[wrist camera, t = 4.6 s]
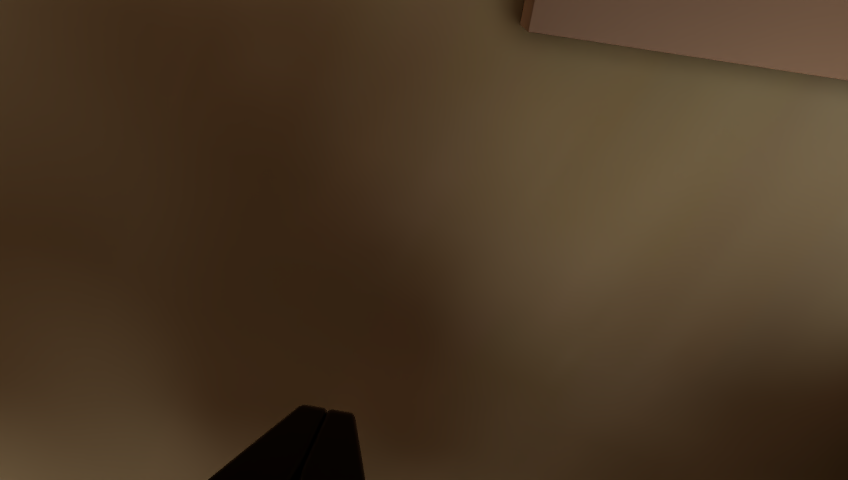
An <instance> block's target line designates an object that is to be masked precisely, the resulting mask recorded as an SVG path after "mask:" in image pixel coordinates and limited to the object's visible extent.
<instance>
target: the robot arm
mask: <svg viewBox="0 0 848 480" xmlns="http://www.w3.org/2000/svg"><path fill="white" fill-rule="evenodd" d="M208 480H365V475H364V469H363V463H362V457H361V451H360V445H359V438H358V432H357V426H356V420H355V416H354V414H353V413H350V412H344V411H338V410H329V411H328V412H327V410H326V409H325V408H321V407H315V406H310V405H301V406H299V407H298V408H296V409H295V410H294V411H293V412H291V413H290V414H289V415H288V416H286V417H285V418H284V419H283V420H281V421H280V422H279V423H278V424H276V425H275V426H274V427H273V428H271V429H270V430H269V431H268V432H266V433H265V434H264V435H263V436H262V437H260V438H259V439H258V440H257V441H255V442H254V443H253V444H252V445H250V446H249V447H248V448H247V449H245V450H244V451H243V452H242V453H240V454H239V455H238V456H237V457H235V458H234V459H233V460H232V461H230V462H229V463H228V464H227V465H226V466H224V467H223V468H222V469H221V470H219V471H218V472H217V473H216V474H214V475H213V476H212V477H211V478H209V479H208Z"/></svg>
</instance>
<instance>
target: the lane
mask: <svg viewBox="0 0 848 480" xmlns="http://www.w3.org/2000/svg"><path fill="white" fill-rule="evenodd" d="M520 25H521V26H522V27H523V28H525V29H526V30H527V31H528V32H534V33H541V34H548V35H554V36H561V37H567V38H574V39H580V40H587V41H593V42H600V43H606V44H613V45H619V46H626V47H633V48H639V49H646V50H652V51H659V52H665V53H672V54H678V55H685V56H691V57H698V58H705V59H711V60H718V61H724V62H731V63H737V64H744V65H750V66H757V67H763V68H770V69H776V70H783V71H790V72H796V73H803V74H809V75H816V76H822V77H829V78H835V79H842V80H848V0H525V2H524V7H523V12H522V17H521V22H520Z"/></svg>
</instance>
